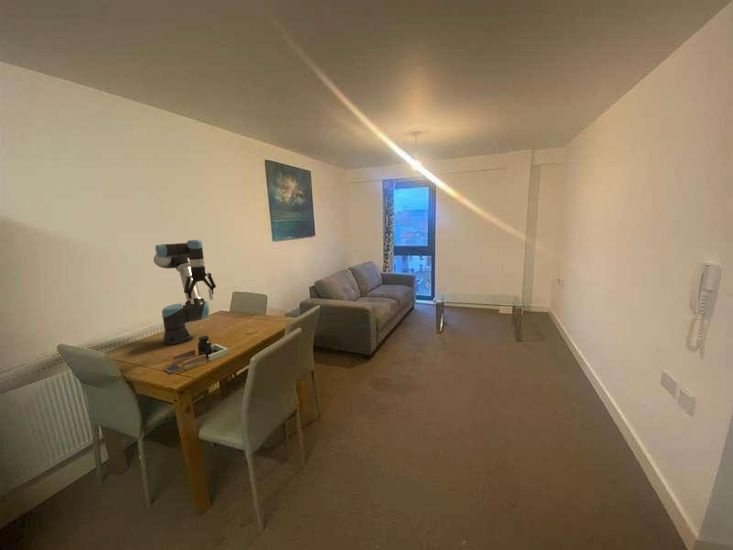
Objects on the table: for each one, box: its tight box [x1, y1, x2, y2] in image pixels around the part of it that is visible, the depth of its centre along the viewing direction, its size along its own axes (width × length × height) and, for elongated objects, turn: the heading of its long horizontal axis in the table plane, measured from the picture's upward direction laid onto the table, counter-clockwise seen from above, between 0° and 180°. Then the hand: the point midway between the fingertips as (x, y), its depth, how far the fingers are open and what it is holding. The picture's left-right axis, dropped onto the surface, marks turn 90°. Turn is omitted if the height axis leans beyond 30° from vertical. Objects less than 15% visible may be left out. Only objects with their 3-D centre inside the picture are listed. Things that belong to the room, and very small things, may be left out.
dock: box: [197, 343, 230, 362], centre depth 176 cm, size 14×11×3 cm
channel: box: [172, 348, 208, 371], centre depth 166 cm, size 14×11×4 cm
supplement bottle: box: [197, 335, 213, 360], centre depth 172 cm, size 7×7×12 cm
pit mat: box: [163, 364, 184, 375], centre depth 160 cm, size 8×6×1 cm
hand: (202, 301), depth 186 cm, fingers open, 11 cm apart
